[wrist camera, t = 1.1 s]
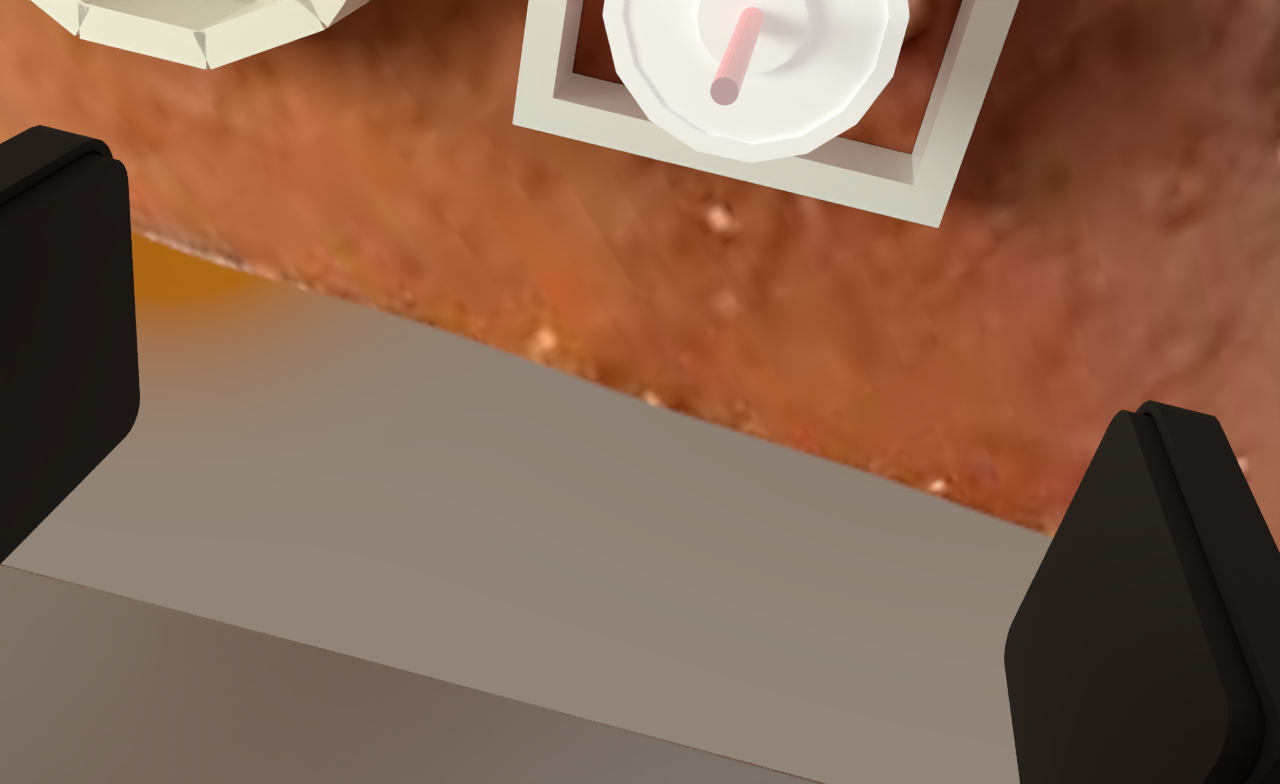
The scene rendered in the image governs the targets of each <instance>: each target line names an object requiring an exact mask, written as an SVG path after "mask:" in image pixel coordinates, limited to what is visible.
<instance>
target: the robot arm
mask: <svg viewBox="0 0 1280 784" xmlns="http://www.w3.org/2000/svg"><path fill="white" fill-rule="evenodd" d="M134 297H135V296H134V278H133V260H132V241H131V222H130V204H129V185H128V176H127V171H126V169H125V166H124V164H123V163H122V162H120V161H119V160H116V159H113V156H112V154H111V151H110V149H109V147H108V146H107V145H106V144H105V143H104V142H103V141H102V140H98V139H94V138H90V137H86V136H82V135H78V134H74V133H70V132H66V131H62V130H58V129H54V128H50V127H46V126H42V125H38V126H35V127H31V128H29V129H27V130H26V131H24V132H22V133H20V134H18V135H16V136H14V137H13V138H11V139H9V140H7V141H5V142H3V143H1V144H0V784H825V783H822V782H818V781H814V780H811V779H807V778H803V777H799V776H796V775H792V774H789V773H785V772H781V771H778V770H773V769H769V768H766V767H763V766H759V765H755V764H752V763H748V762H744V761H741V760H737V759H733V758H730V757H726V756H722V755H719V754H715V753H711V752H708V751H704V750H700V749H697V748H693V747H689V746H685V745H681V744H678V743H674V742H670V741H667V740H663V739H659V738H656V737H652V736H648V735H644V734H641V733H637V732H633V731H629V730H625V729H622V728H618V727H615V726H610V725H607V724H603V723H599V722H595V721H592V720H588V719H584V718H581V717H577V716H574V715H570V714H566V713H562V712H558V711H555V710H551V709H547V708H544V707H540V706H536V705H532V704H529V703H525V702H521V701H518V700H514V699H510V698H506V697H502V696H499V695H495V694H491V693H488V692H484V691H480V690H476V689H472V688H469V687H465V686H461V685H457V684H454V683H450V682H446V681H443V680H439V679H435V678H431V677H428V676H424V675H420V674H416V673H412V672H409V671H405V670H401V669H398V668H394V667H390V666H386V665H383V664H379V663H375V662H372V661H368V660H364V659H360V658H356V657H353V656H349V655H345V654H341V653H337V652H333V651H329V650H326V649H322V648H318V647H314V646H311V645H307V644H303V643H299V642H296V641H292V640H288V639H284V638H280V637H276V636H273V635H269V634H265V633H261V632H258V631H254V630H250V629H246V628H242V627H239V626H235V625H231V624H227V623H223V622H220V621H216V620H212V619H208V618H204V617H201V616H197V615H193V614H189V613H185V612H182V611H178V610H174V609H170V608H166V607H163V606H159V605H155V604H151V603H147V602H144V601H140V600H136V599H132V598H129V597H125V596H121V595H117V594H113V593H109V592H106V591H102V590H98V589H94V588H91V587H87V586H83V585H79V584H75V583H72V582H68V581H64V580H60V579H56V578H52V577H48V576H45V575H41V574H37V573H33V572H29V571H25V570H21V569H18V568H14V567H10V566H5V565H2V564H1V563H2V562H3V561H4V560H5V559H6V558H7V557H8V556H9V555H10V554H11V553H12V552H13V551H14V550H15V549H16V548H17V547H18V546H19V545H20V544H21V543H22V542H23V541H24V539H26V537H28V536H29V535H30V533H31V532H32V531H33V530H34V529H35V528H36V527H37V526H38V525H39V524H40V523H41V522H42V521H43V520H44V519H45V518H46V517H47V516H48V515H49V514H50V513H51V512H52V511H53V510H54V509H55V508H56V507H57V506H58V505H59V504H60V503H61V502H62V501H63V500H64V499H65V498H66V497H67V496H68V495H69V494H70V493H71V492H72V491H73V490H74V489H75V488H76V487H77V486H78V485H79V484H80V483H81V482H82V480H84V479H85V477H86V476H87V475H88V474H89V473H90V472H91V471H92V470H93V469H94V468H95V467H96V466H97V465H98V464H99V463H100V462H101V461H102V460H103V459H104V458H105V457H106V456H107V455H108V454H109V453H110V452H111V451H112V450H113V449H114V448H115V447H116V446H117V445H118V444H119V443H120V442H121V441H122V440H123V439H124V438H125V437H126V436H127V434H128V433H129V432H130V430H131V428H132V427H133V425H134V423H135V420H136V417H137V414H138V410H139V405H140V389H139V371H138V353H137V334H136V317H135V298H134ZM1004 662H1005V672H1006V679H1007V687H1008V695H1009V702H1010V710H1011V717H1012V724H1013V732H1014V740H1015V747H1016V755H1017V763H1018V770H1019V778H1020V784H1280V552H1279V550H1278V548H1277V546H1276V544H1275V541H1274V539H1273V537H1272V535H1271V533H1270V531H1269V528H1268V526H1267V524H1266V522H1265V520H1264V518H1263V515H1262V513H1261V511H1260V509H1259V507H1258V505H1257V503H1256V500H1255V498H1254V496H1253V494H1252V492H1251V490H1250V487H1249V485H1248V483H1247V481H1246V479H1245V477H1244V474H1243V472H1242V470H1241V468H1240V466H1239V464H1238V461H1237V459H1236V457H1235V455H1234V453H1233V451H1232V448H1231V446H1230V444H1229V442H1228V440H1227V438H1226V435H1225V433H1224V431H1223V429H1222V427H1221V425H1220V422H1219V421H1218V420H1217V419H1216V417H1215V416H1211V415H1207V414H1203V413H1199V412H1195V411H1191V410H1187V409H1183V408H1179V407H1175V406H1171V405H1167V404H1163V403H1159V402H1155V401H1151V400H1149V401H1147V402H1145V403H1143V404H1142V405H1141V406H1140V407H1139V409H1138V410H1137V411H1136V412H1135V413H1134V412H1130V411H1126V410H1122V411H1120V412H1118V413H1117V414H1116V415H1115V416H1114V418H1113V419H1112V421H1111V423H1110V424H1109V426H1108V428H1107V430H1106V432H1105V434H1104V436H1103V439H1102V441H1101V443H1100V445H1099V447H1098V449H1097V451H1096V453H1095V455H1094V457H1093V459H1092V461H1091V463H1090V465H1089V467H1088V469H1087V471H1086V473H1085V475H1084V477H1083V479H1082V481H1081V483H1080V485H1079V487H1078V489H1077V491H1076V493H1075V495H1074V498H1073V500H1072V502H1071V504H1070V506H1069V508H1068V510H1067V512H1066V514H1065V516H1064V518H1063V520H1062V522H1061V524H1060V526H1059V528H1058V530H1057V532H1056V534H1055V536H1054V538H1053V540H1052V542H1051V544H1050V546H1049V548H1048V551H1047V552H1046V554H1045V557H1044V559H1043V561H1042V563H1041V565H1040V567H1039V569H1038V571H1037V573H1036V575H1035V577H1034V579H1033V581H1032V583H1031V585H1030V587H1029V589H1028V591H1027V593H1026V595H1025V597H1024V599H1023V601H1022V603H1021V605H1020V607H1019V609H1018V612H1017V614H1016V616H1015V618H1014V620H1013V622H1012V624H1011V627H1010V629H1009V633H1008V636H1007V640H1006V645H1005V654H1004Z"/></svg>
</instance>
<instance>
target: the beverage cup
mask: <svg viewBox="0 0 1280 784" xmlns="http://www.w3.org/2000/svg"><path fill="white" fill-rule="evenodd" d="M909 17H910V16H909V7H908V0H605V2H604V9H603V19H604V24H605V28H606V32H607V36H608V40H609V44H610V48H611V52H612V57H613V61H614V65H615V69H616V73H617V74H618V76H619V77H620V79H621V80H622V82H623V83H624V84H625V86H626V87H627V89H628V90H629V92H630V93H631V94H632V96H633V97H634V99H635V100H636V102H637V103H638V104H639V106H640V107H641V109H642V110H643V112H644V113H645V114H646V116H647V117H648V119H649V120H650V121H652V122H653V123H655V124H656V125H658V126H659V127H661V128H662V129H664V130H665V131H667V132H668V133H670V134H671V135H673V136H674V137H676V138H677V139H679V140H680V141H682V142H683V143H685V144H686V145H688V146H689V147H691V148H692V149H694V150H695V151H698V152H703V153H707V154H712V155H716V156H721V157H726V158H730V159H735V160H740V161H744V162H749V163H754V162H760V161H766V160H772V159H778V158H784V157H790V156H796V155H802V154H807V153H809V152H811V151H812V150H814V149H816V148H817V147H819V146H821V145H822V144H824V143H826V142H827V141H829V140H831V139H832V138H834V137H836V136H837V135H839V134H841V133H842V132H844V131H846V130H847V129H849V128H851V127H852V126H854V125H856V124H857V123H858V121H859V120H860V119H861V118H862V116H863V115H864V114H865V112H866V111H867V110H868V108H869V107H870V106H871V104H872V103H873V102H874V101H875V99H876V98H877V97H878V95H879V94H880V93H881V91H882V90H883V89H884V87H885V86H886V85H887V84H888V82H889V81H890V80H891V78H892V77H893V75H894V71H895V67H896V64H897V60H898V57H899V53H900V49H901V46H902V42H903V39H904V35H905V31H906V28H907V24H908V21H909Z"/></svg>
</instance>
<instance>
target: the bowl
mask: <svg viewBox="0 0 1280 784" xmlns="http://www.w3.org/2000/svg"><path fill="white" fill-rule="evenodd" d="M31 1H32V2H34V3H35V4H36V5H37V6H39V7H40V8H41V9H42V10H44V11H45V12H46V13H47V14H48V15H50V16H51V17H52V18H53V19H55V20H56V21H57V22H58V23H60V24H61V25H62V26H63V27H65V28H66V29H67V30H68V31H69V32H71V33H72V34H73V35H74V36H76V35H78V34H80V39H84V40H88V41H92V42H96V43H100V44H104V45H108V46H112V47H116V48H121V49H125V50H129V51H133V52H137V53H141V54H145V55H149V56H153V57H157V58H161V59H166V60H170V61H174V62H178V63H182V64H186V65H190V66H194V67H198V68H202V69H208V68H209V67H210V68H211V69H213V68H216V67H219V66H222V65H225V64H228V63H231V62H234V61H236V60H239V59H242V58H245V57H248V56H251V55H254V54H257V53H259V52H262V51H265V50H268V49H271V48H274V47H277V46H280V45H282V44H285V43H288V42H291V41H294V40H297V39H300V38H303V37H305V36H308V35H311V34H314V33H317V32H320V31H323V30H325V29H326V28H328V27H330V26H331V25H333V24H334V23H336V22H337V21H339V20H341V19H342V18H344V17H345V16H347V15H348V14H350V13H351V12H353V11H355V10H356V9H358V8H359V7H361V6H362V5H364V4H366V3H367V2H369V1H370V0H31Z"/></svg>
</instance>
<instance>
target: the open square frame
mask: <svg viewBox="0 0 1280 784" xmlns="http://www.w3.org/2000/svg"><path fill="white" fill-rule="evenodd" d="M1018 2H1019V0H962V3H961V6H960V9H959V12H958V15H957V18H956V21H955V24H954V28H953V31H952V34H951V37H950V40H949V43H948V46H947V49H946V52H945V55H944V58H943V61H942V64H941V67H940V70H939V73H938V76H937V79H936V82H935V85H934V88H933V91H932V94H931V97H930V101H929V104H928V107H927V110H926V113H925V116H924V119H923V122H922V125H921V128H920V131H919V134H918V137H917V140H916V143H915V146H914V149H913V152H912V155H911V154H907V153H903V152H899V151H895V150H890V149H886V148H882V147H878V146H874V145H870V144H866V143H861V142H857V141H853V140H849V139H845V138H841V137H834V138H832V139H831V140H829V141H827V142H826V143H824V144H822V145H821V146H819V147H817V148H816V149H814V150H812V151H811V152H809V153H807V154H802V155H796V156H790V157H784V158H778V159H772V160H766V161H760V162H754V163H749V162H744V161H740V160H735V159H730V158H726V157H721V156H716V155H712V154H707V153H703V152H698V151H695V150H694V149H692V148H691V147H689V146H688V145H686V144H685V143H683V142H682V141H680V140H679V139H677V138H676V137H674V136H673V135H671V134H670V133H668V132H667V131H665V130H664V129H662V128H661V127H659V126H658V125H656V124H655V123H653V122H652V121H650V120H649V119H648V117H647V116H646V114H645V113H644V112H643V110H642V109H641V107H640V106H639V104H638V103H637V102H636V100H635V99H634V97H633V96H632V94H631V93H630V92H629V90H628V89H627V87H626V86H625V85H621V84H617V83H613V82H608V81H604V80H600V79H596V78H592V77H588V76H584V75H579V74H575V73H572V71H573V64H574V58H575V51H576V45H577V38H578V32H579V26H580V19H581V13H582V6H583V0H529V2H528V10H527V17H526V25H525V33H524V40H523V48H522V56H521V63H520V71H519V79H518V86H517V94H516V102H515V109H514V117H513V124H514V125H518V126H522V127H526V128H530V129H534V130H539V131H543V132H547V133H551V134H555V135H559V136H563V137H567V138H571V139H575V140H580V141H584V142H588V143H592V144H596V145H600V146H604V147H608V148H612V149H616V150H620V151H625V152H629V153H633V154H637V155H641V156H645V157H649V158H653V159H657V160H661V161H666V162H670V163H674V164H678V165H682V166H686V167H690V168H694V169H698V170H702V171H707V172H711V173H715V174H719V175H723V176H727V177H731V178H735V179H739V180H743V181H748V182H752V183H756V184H760V185H764V186H768V187H772V188H776V189H780V190H784V191H789V192H793V193H797V194H801V195H805V196H809V197H813V198H817V199H821V200H825V201H830V202H834V203H838V204H842V205H846V206H850V207H854V208H858V209H862V210H866V211H871V212H875V213H879V214H883V215H887V216H891V217H895V218H899V219H903V220H907V221H911V222H916V223H920V224H924V225H928V226H932V227H936V228H939V225H940V222H941V219H942V216H943V214H944V211H945V208H946V205H947V202H948V200H949V197H950V194H951V191H952V188H953V185H954V183H955V180H956V177H957V174H958V171H959V168H960V166H961V163H962V160H963V157H964V154H965V152H966V149H967V146H968V143H969V140H970V137H971V135H972V132H973V129H974V126H975V123H976V121H977V118H978V115H979V112H980V109H981V106H982V104H983V101H984V98H985V95H986V92H987V90H988V87H989V84H990V81H991V78H992V75H993V73H994V70H995V67H996V64H997V61H998V59H999V56H1000V53H1001V50H1002V47H1003V44H1004V42H1005V39H1006V36H1007V33H1008V30H1009V27H1010V25H1011V22H1012V19H1013V16H1014V13H1015V11H1016V8H1017V5H1018Z"/></svg>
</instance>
